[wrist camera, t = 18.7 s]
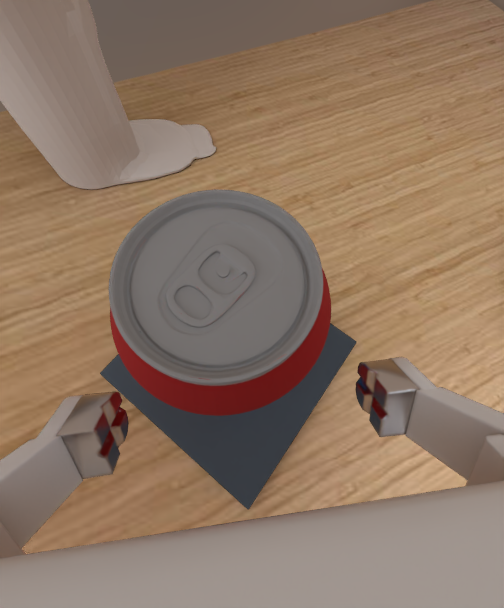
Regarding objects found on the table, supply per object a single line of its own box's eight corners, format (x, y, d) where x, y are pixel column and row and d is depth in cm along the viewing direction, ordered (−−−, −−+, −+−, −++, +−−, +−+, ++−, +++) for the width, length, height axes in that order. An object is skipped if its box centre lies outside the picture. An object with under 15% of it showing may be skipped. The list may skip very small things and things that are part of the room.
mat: (248, 507, 16) (248, 510, 15) (102, 374, 18) (99, 373, 17) (354, 342, 19) (356, 341, 19) (221, 248, 21) (221, 246, 21)
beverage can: (305, 350, 18) (402, 261, 7) (238, 435, 16) (227, 498, 5) (229, 288, 20) (211, 134, 9) (159, 361, 18) (17, 285, 7)
